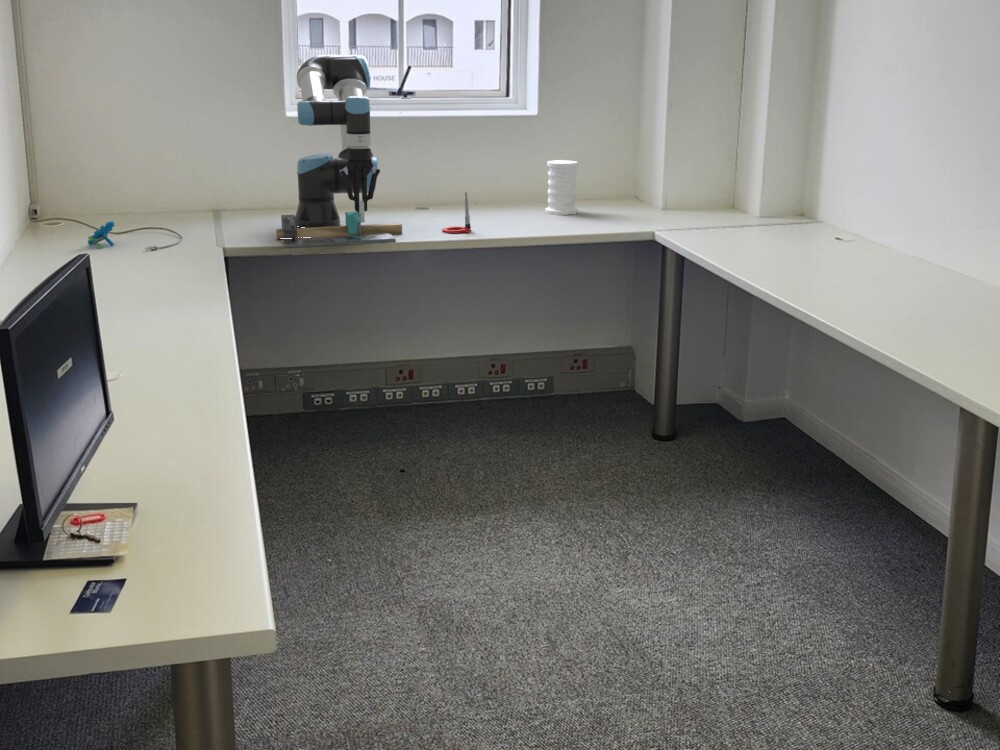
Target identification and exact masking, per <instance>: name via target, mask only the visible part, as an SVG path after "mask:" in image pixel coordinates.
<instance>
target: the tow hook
mask: <svg viewBox="0 0 1000 750" xmlns="http://www.w3.org/2000/svg"><path fill="white" fill-rule="evenodd" d="M468 197H469V196H468V191H467V192H464V211H465V212H464V213H465V214H464V215H465V216H464V226H448V227H443V228H442V229H441V230H442V233H446V234H459V233H460V234H461V233H466V234H469V233H470V232H471V231H472V227H471V219H470V217H471V215H470V207H469V205H470V204H469V198H468Z"/></svg>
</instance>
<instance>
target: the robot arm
mask: <svg viewBox="0 0 1000 750" xmlns="http://www.w3.org/2000/svg"><path fill="white" fill-rule="evenodd" d="M296 82H297V86H298V87H299V89H300V91H301V92H300V93H301V100H300V101H298V102H297V103H296V105H297V106H296V107H297V110H296V111H297V123H298V124H299V125H300V126H310V127H311V126H340V127H339V128H340V136H341V137H340V138H341V151H340V152H339V153H338V155H337V157H334V156H333V154H332V153H330V152H328V153H318V154H317V153H316V154H312V155H311V154H310V155H307V156H303V157H301V158H299V159H298V161H297V163H296V165H297V171H296V175H297V186H298V187H297V188H298V189H297V191H298V205H297V210H296V213H295V216H296V224H297V226H299V227H305V228H312V227H332V226H338V225H339V226H341V217H340V214H339V211H338V209H337V207H336V206H337V205H336V203H335V194H347V196H348V199H349V200H351V201H353V202H354V212H359V213H360V215H361V223H365V222H366V221H365V220H366V219H365V212H368V201H370V200H372V199H374V193H375V191H376V189H377V180H378V179H377V178H378V176H379V174H380V173H381V170H380V168H379V167H378V163H379V158H378V157H375V156H374V154H373V152H372V148H371V146H372V140H371V139H372V138H371V105H370V104H371V103H370V99H369V97H368V96H365V95H366V93H367V92H368V91H367V90H369V89H370V88H371V75H370V68H369V63H368V61H367V58H366V57H365V56H363V55H361V54H360V55H359V54H353V53H352V54H350V55H349V54H345V55H344V54H319V55H316V56H313V57H311V58H309V59H307V60H306V61H305V62H303V63H302V65H301V66H300V67H299V68H298V70H297V73H296ZM325 90H329V91H330V90H332V92H333V95H334V96H335V97H336V98H337V100H326V95H325ZM360 194H361V200H360ZM299 227H298V228H299Z"/></svg>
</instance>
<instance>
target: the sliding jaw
mask: <svg viewBox="0 0 1000 750" xmlns="http://www.w3.org/2000/svg"><path fill="white" fill-rule="evenodd" d="M344 215H345V218H344V219H345V226H348V234H357V236H361V234H360V233H361V225H362V222H361V215H360V213H359V212H356V211H344Z"/></svg>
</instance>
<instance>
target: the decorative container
mask: <svg viewBox="0 0 1000 750" xmlns="http://www.w3.org/2000/svg"><path fill="white" fill-rule="evenodd" d="M546 163H547V166H546V167H548V172H547V175H548V181H547V185H548V189H547V194H548V197H547V203H548V206H547V207H546V208H544V209H545V211H544V212H546V214H547V213H549V214H548V215H552V214H557V215H556V216H571V215H570V214H573V215H577V214H578V209H579V208H577V207H575V206H576V202H577V199H576V193H577V191H576V185H577V180H576V176H577V171H576V169H577V168H576V167H578V165H579V164H578V163H579V162H578V161H576V160H569V159H566V160H565V159H557V160H556V159H555V160H548V161H547V162H546ZM576 213H577V214H576ZM568 214H569V215H568Z"/></svg>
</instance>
